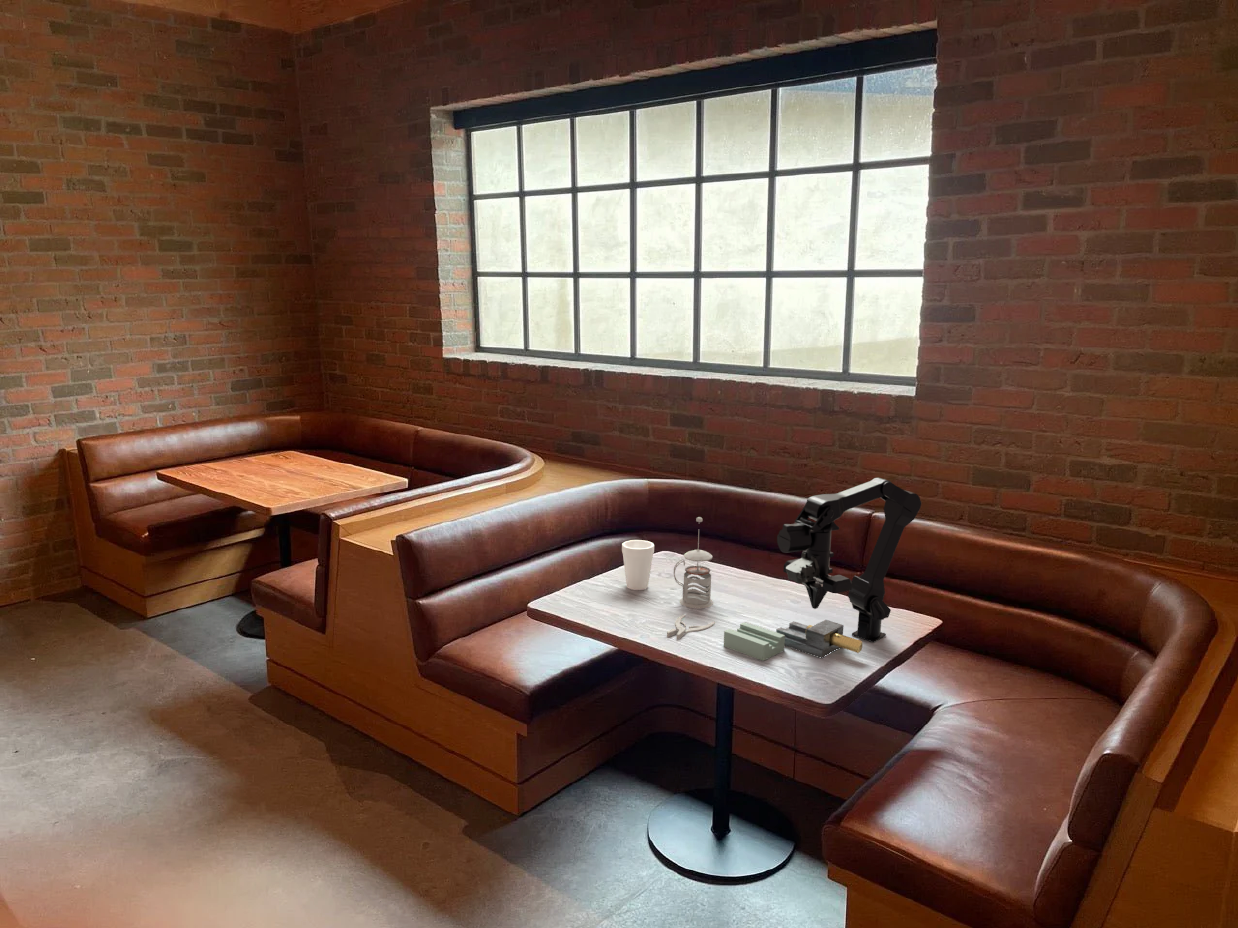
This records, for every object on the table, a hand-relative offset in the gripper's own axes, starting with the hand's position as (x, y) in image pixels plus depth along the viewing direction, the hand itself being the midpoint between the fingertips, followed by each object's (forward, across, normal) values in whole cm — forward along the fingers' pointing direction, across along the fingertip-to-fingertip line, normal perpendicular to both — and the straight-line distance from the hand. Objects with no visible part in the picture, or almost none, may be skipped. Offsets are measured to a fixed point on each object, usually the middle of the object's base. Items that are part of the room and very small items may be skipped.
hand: (814, 608), depth 217 cm
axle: (+6, +5, +2) cm, 8 cm away
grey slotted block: (+10, -1, 0) cm, 10 cm away
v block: (+10, -6, -14) cm, 18 cm away
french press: (+10, -39, -9) cm, 42 cm away
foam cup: (+10, -58, -16) cm, 61 cm away
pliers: (+10, -24, -22) cm, 34 cm away
